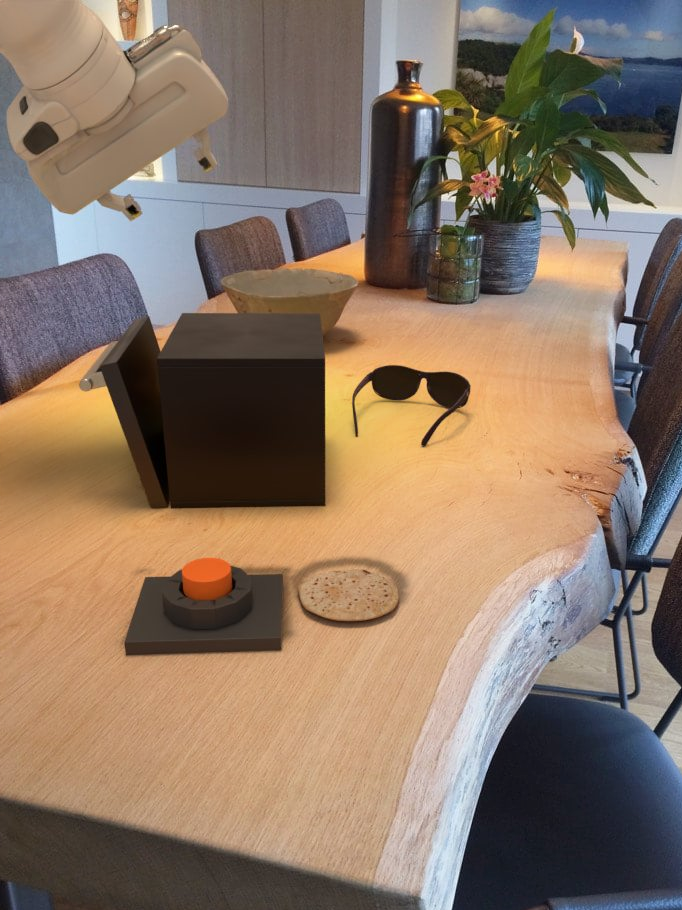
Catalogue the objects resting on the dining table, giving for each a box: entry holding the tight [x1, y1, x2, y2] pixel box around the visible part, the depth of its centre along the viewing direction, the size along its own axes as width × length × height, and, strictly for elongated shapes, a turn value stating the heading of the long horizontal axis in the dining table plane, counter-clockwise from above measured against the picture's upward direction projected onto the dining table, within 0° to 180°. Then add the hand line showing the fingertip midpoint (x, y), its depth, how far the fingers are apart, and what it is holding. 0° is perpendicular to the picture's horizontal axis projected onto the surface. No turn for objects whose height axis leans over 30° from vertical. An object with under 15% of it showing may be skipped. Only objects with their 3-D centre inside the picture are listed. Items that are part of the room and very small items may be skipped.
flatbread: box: [297, 568, 400, 622], centre depth 66 cm, size 8×8×1 cm
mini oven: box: [157, 312, 326, 510], centre depth 86 cm, size 15×18×15 cm
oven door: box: [78, 315, 170, 510], centre depth 85 cm, size 5×18×15 cm, turn 5°
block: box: [123, 565, 284, 656], centre depth 63 cm, size 11×9×3 cm
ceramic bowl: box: [220, 268, 359, 337], centre depth 137 cm, size 22×23×10 cm
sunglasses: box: [351, 364, 472, 447], centre depth 103 cm, size 14×16×5 cm
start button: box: [182, 557, 232, 600], centre depth 62 cm, size 4×4×2 cm
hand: (173, 190), depth 86 cm, fingers open, 8 cm apart
